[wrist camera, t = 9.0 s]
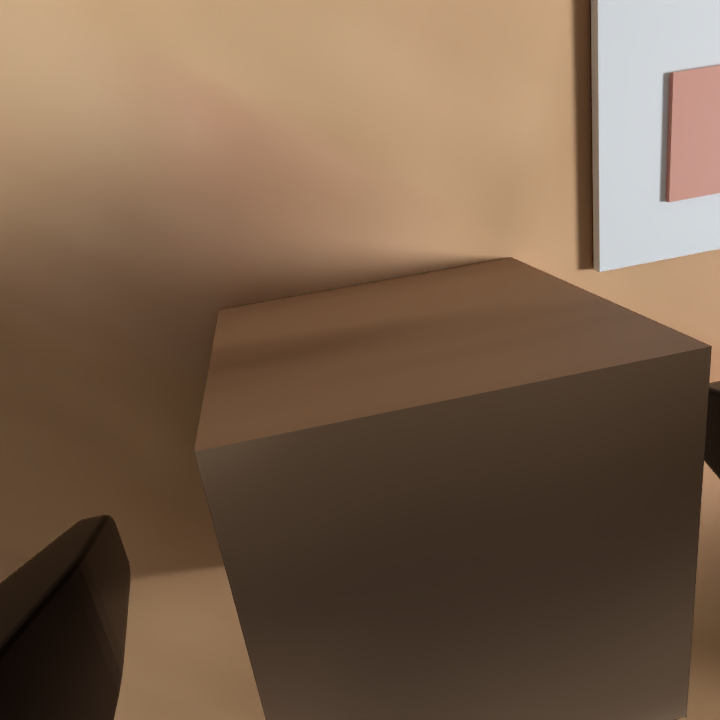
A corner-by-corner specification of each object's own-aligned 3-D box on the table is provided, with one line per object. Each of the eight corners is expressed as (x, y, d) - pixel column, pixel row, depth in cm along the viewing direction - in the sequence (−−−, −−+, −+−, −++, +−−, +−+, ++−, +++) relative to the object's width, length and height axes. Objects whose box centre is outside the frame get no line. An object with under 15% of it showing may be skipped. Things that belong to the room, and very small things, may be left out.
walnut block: (522, 500, 12) (685, 716, 8) (276, 556, 12) (294, 824, 7) (508, 256, 11) (711, 346, 6) (219, 308, 10) (194, 451, 5)
